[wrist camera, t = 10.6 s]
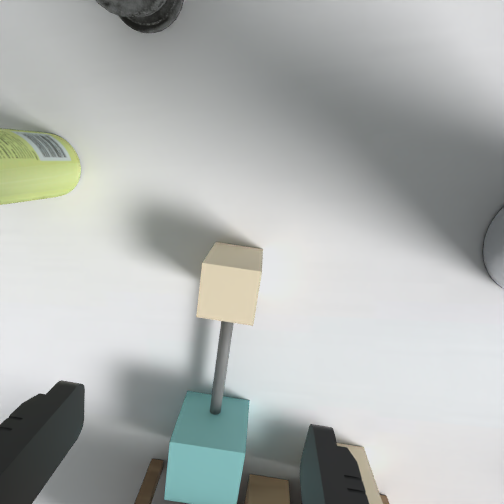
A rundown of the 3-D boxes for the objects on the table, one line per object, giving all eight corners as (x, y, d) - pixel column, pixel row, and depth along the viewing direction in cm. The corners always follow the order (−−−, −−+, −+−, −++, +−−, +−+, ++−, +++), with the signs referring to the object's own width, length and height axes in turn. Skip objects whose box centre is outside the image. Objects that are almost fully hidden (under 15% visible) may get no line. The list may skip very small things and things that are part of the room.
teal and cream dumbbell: (203, 240, 28) (187, 260, 22) (274, 250, 28) (276, 274, 22) (182, 440, 33) (164, 499, 27) (240, 450, 33) (235, 510, 27)
